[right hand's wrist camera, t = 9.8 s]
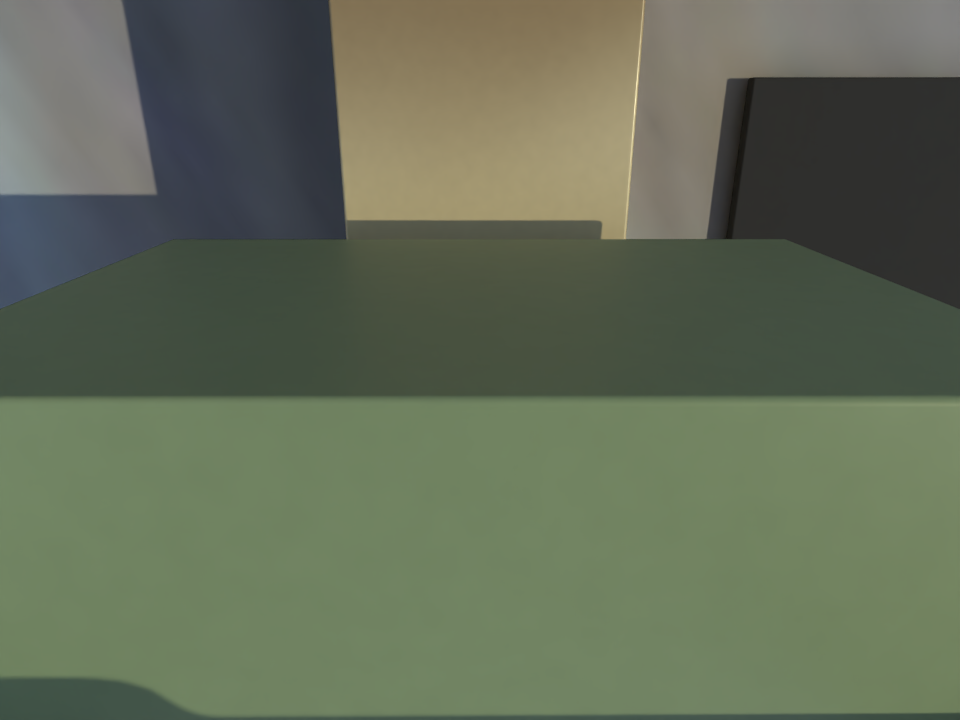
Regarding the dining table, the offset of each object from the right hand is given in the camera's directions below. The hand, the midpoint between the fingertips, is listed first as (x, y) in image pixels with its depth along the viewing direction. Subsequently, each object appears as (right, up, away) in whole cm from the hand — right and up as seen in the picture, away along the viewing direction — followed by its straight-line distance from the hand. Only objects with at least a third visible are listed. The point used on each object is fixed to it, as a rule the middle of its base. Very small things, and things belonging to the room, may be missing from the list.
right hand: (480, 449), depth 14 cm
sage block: (0, 0, 0) cm, 0 cm away
